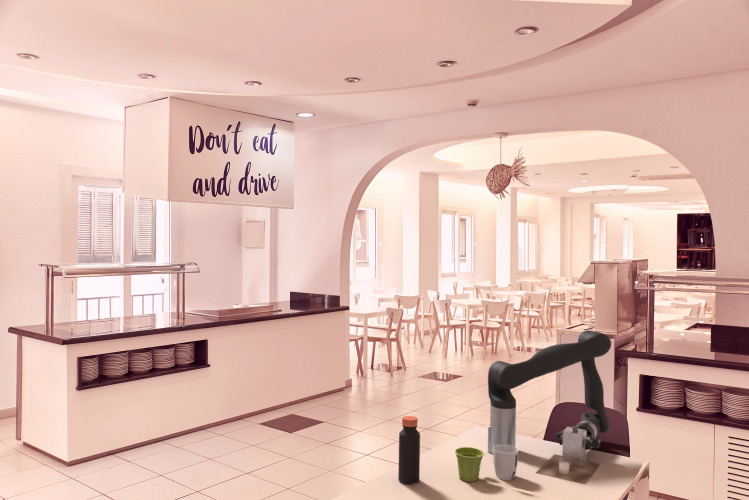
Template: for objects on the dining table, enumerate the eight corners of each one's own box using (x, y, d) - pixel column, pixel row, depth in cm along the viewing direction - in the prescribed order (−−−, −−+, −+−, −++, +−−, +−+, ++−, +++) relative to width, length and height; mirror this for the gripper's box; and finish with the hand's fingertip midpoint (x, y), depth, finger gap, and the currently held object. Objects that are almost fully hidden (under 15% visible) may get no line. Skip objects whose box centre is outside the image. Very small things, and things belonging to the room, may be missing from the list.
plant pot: (484, 474, 188) (484, 448, 189) (482, 485, 179) (483, 458, 179) (455, 471, 191) (456, 445, 191) (453, 482, 181) (453, 455, 181)
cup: (518, 485, 180) (519, 454, 180) (492, 483, 181) (492, 451, 181) (517, 476, 188) (517, 445, 188) (492, 473, 189) (492, 443, 189)
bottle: (413, 486, 178) (414, 422, 178) (394, 481, 181) (395, 418, 181) (423, 479, 183) (424, 417, 184) (404, 474, 187) (405, 413, 187)
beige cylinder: (557, 474, 187) (557, 463, 187) (560, 471, 190) (560, 460, 190) (567, 476, 186) (567, 465, 186) (570, 473, 188) (570, 462, 188)
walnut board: (535, 475, 188) (535, 472, 188) (554, 456, 206) (554, 454, 206) (585, 487, 179) (585, 484, 179) (600, 466, 198) (600, 463, 198)
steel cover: (562, 462, 198) (562, 427, 198) (567, 457, 203) (567, 423, 203) (581, 466, 194) (581, 431, 194) (585, 461, 200) (586, 426, 200)
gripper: (565, 419, 215) (552, 430, 201) (605, 426, 207) (594, 437, 193) (564, 439, 215) (552, 451, 201) (604, 447, 207) (594, 459, 193)
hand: (573, 444), depth 197 cm, fingers open, 8 cm apart
